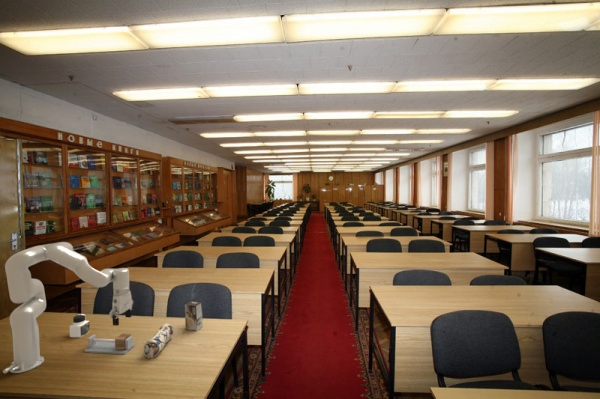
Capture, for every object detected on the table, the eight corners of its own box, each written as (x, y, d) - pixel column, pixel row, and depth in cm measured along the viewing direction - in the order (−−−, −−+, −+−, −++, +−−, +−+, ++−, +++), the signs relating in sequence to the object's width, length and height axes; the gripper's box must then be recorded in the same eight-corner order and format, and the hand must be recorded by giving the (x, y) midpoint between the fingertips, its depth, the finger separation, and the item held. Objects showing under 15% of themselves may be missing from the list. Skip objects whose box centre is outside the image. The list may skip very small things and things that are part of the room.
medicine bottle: (81, 337, 172) (80, 318, 171) (69, 337, 172) (68, 318, 172) (90, 331, 179) (89, 313, 179) (78, 331, 179) (78, 312, 179)
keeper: (123, 349, 156) (123, 339, 156) (115, 349, 156) (114, 338, 156) (131, 343, 162) (130, 333, 161) (123, 343, 162) (122, 333, 162)
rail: (125, 354, 154) (124, 342, 154) (84, 352, 156) (83, 340, 156) (136, 345, 163) (135, 334, 163) (97, 343, 165) (97, 332, 165)
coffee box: (203, 326, 185) (202, 302, 184) (197, 331, 179) (196, 306, 178) (191, 324, 188) (190, 300, 187) (184, 329, 182) (184, 304, 181)
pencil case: (159, 358, 150) (158, 340, 150) (142, 359, 150) (142, 341, 149) (175, 337, 172) (174, 321, 172) (160, 337, 172) (160, 321, 171)
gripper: (116, 297, 149) (117, 329, 149) (138, 285, 166) (138, 314, 167) (103, 296, 150) (104, 328, 150) (126, 285, 167) (126, 314, 167)
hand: (122, 321), depth 158 cm, fingers open, 9 cm apart
